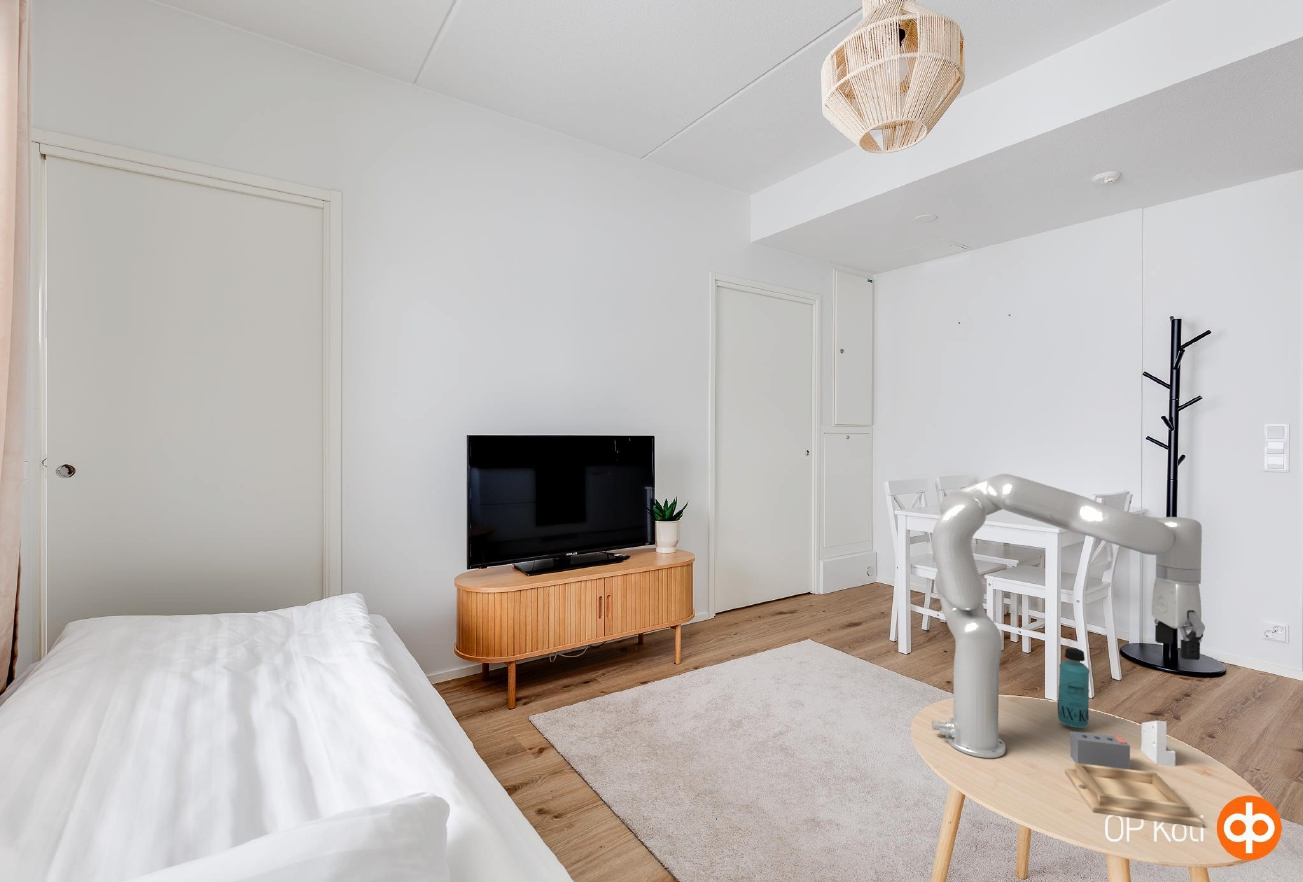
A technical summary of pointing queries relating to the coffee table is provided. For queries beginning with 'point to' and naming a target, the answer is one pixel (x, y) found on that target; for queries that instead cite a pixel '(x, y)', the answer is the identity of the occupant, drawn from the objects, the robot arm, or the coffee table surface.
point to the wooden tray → (1130, 794)
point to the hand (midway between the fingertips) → (1176, 650)
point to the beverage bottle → (1073, 690)
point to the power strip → (1100, 750)
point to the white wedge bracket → (1156, 743)
